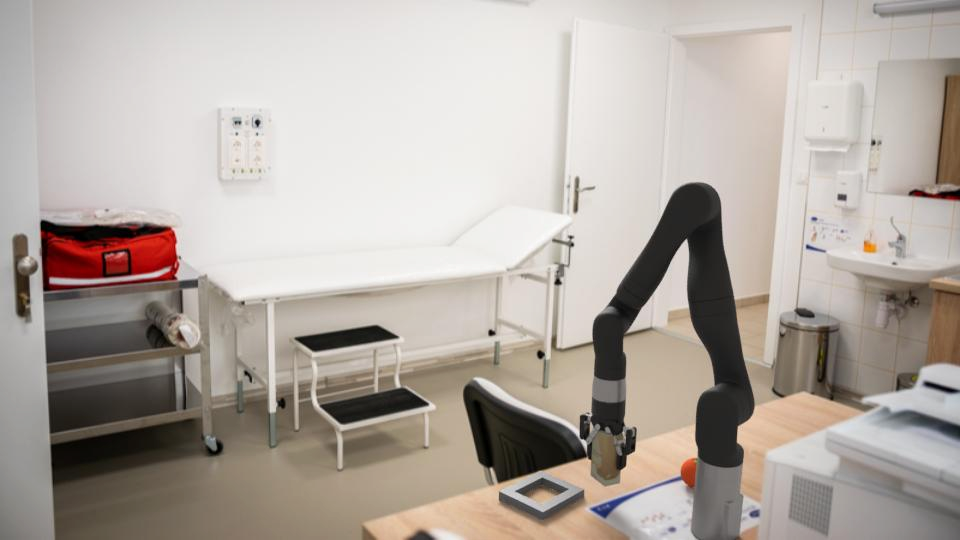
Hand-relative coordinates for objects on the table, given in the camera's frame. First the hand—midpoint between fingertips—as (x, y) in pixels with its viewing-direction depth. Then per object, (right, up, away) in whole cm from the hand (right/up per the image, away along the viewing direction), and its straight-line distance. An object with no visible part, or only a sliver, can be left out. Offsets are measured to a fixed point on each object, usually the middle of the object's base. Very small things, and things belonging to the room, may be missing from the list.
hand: (605, 463), depth 180 cm
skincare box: (0, -4, +1) cm, 4 cm away
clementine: (+23, -8, +9) cm, 26 cm away
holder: (-14, -8, +2) cm, 17 cm away
